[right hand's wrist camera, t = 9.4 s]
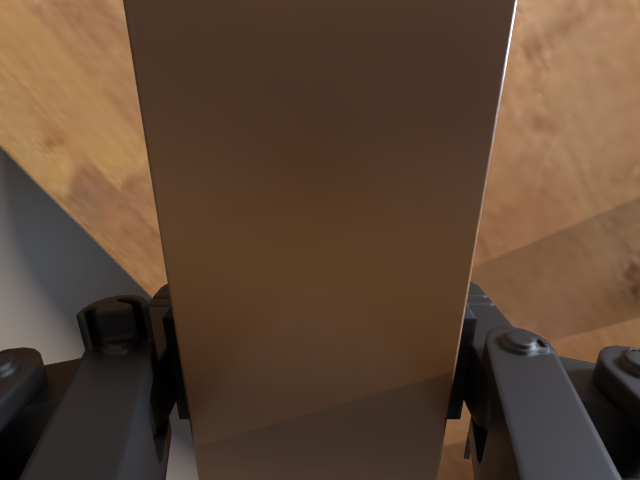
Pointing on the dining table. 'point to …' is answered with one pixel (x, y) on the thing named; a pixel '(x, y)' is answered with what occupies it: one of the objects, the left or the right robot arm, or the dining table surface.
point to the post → (319, 220)
